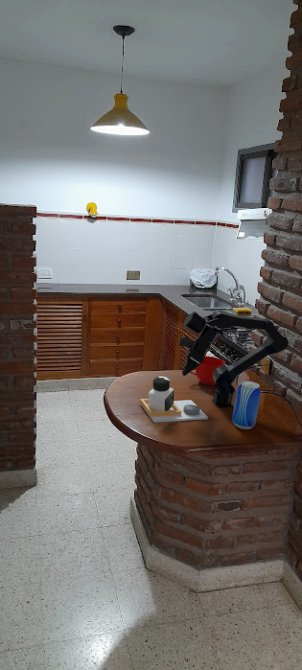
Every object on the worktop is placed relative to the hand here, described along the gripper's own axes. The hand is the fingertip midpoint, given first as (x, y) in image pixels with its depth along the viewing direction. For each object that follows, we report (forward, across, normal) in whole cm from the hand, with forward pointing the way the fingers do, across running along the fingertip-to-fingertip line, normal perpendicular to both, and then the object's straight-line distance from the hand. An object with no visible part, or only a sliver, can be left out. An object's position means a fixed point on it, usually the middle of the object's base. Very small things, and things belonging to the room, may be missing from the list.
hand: (183, 374), depth 187 cm
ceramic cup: (0, -29, +11) cm, 31 cm away
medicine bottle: (+14, +5, -1) cm, 15 cm away
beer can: (+3, +7, +28) cm, 29 cm away
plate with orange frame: (+13, +4, +4) cm, 15 cm away
